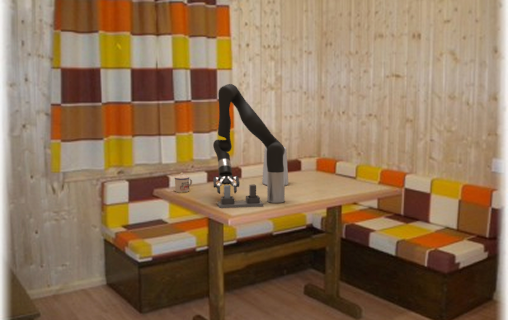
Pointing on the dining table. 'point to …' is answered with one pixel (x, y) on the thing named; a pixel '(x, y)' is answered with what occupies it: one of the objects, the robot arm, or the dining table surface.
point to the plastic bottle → (264, 179)
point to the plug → (227, 192)
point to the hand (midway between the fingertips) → (227, 192)
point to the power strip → (250, 200)
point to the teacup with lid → (182, 183)
